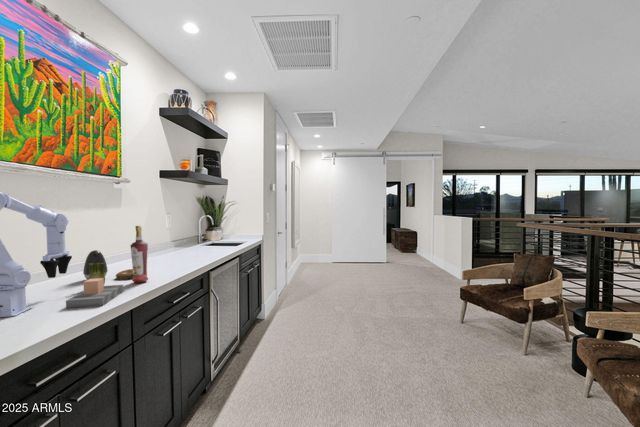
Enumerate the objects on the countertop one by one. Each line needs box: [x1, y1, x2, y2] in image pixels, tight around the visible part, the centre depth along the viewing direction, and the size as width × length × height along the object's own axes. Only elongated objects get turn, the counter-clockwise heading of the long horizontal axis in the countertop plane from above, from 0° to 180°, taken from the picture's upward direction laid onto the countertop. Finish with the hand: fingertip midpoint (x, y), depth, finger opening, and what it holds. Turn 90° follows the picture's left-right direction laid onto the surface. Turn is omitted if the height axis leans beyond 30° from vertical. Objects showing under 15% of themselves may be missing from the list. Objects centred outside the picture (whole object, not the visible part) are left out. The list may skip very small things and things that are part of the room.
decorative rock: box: [115, 268, 133, 281], centre depth 164 cm, size 11×4×15 cm
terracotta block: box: [83, 278, 105, 294], centre depth 124 cm, size 5×5×5 cm
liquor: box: [130, 225, 149, 284], centre depth 151 cm, size 7×7×28 cm
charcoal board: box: [65, 284, 124, 310], centre depth 124 cm, size 20×12×3 cm, turn 14°
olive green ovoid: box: [82, 249, 109, 280], centre depth 159 cm, size 10×10×15 cm
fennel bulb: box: [89, 263, 106, 285], centre depth 140 cm, size 6×5×12 cm
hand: (57, 275), depth 126 cm, fingers open, 7 cm apart
